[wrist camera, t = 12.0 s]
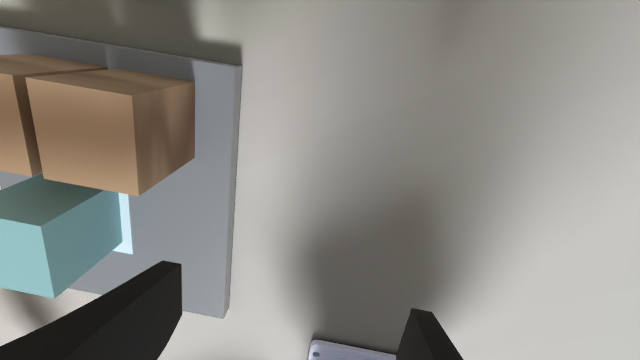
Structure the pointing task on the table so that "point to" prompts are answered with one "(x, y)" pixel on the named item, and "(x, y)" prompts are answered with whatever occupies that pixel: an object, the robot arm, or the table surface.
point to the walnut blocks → (93, 123)
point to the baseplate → (175, 190)
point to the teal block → (54, 233)
